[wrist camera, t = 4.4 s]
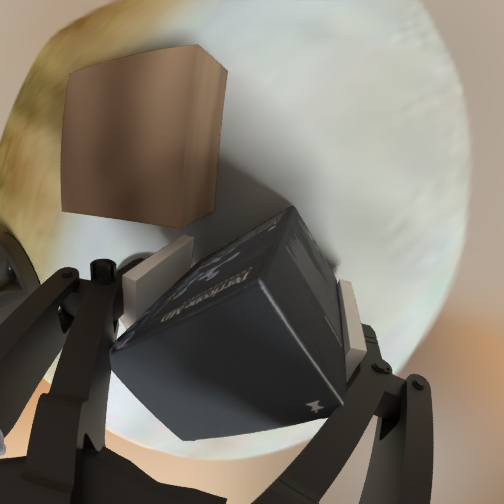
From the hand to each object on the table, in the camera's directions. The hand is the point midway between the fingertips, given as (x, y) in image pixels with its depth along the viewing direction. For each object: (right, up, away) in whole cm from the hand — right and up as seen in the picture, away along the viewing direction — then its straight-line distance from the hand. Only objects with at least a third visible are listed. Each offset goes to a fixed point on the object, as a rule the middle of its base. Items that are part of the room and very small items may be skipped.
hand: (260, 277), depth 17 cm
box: (0, 0, +1) cm, 1 cm away
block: (-7, +9, 0) cm, 11 cm away
